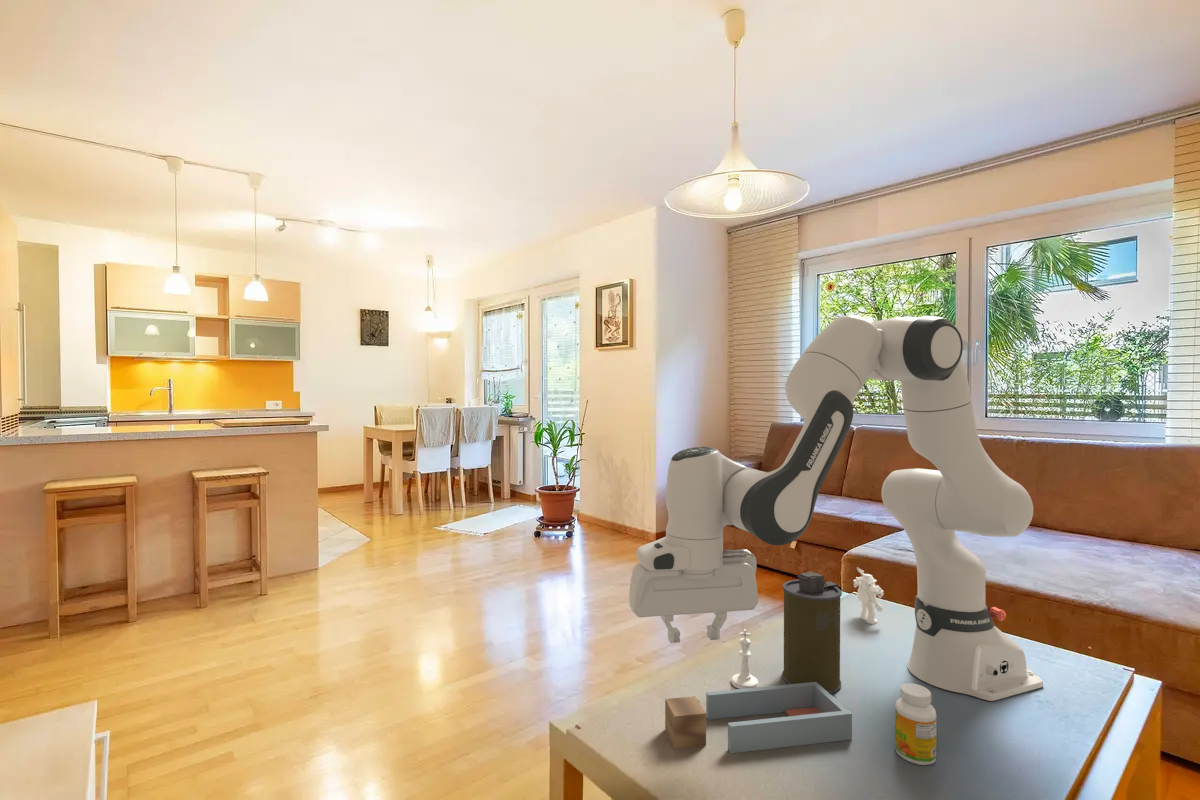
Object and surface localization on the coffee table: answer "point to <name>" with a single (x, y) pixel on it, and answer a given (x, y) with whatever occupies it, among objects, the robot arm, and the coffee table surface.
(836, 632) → the canister
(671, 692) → the coffee table surface
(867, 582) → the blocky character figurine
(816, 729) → the channel
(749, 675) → the chess piece
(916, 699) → the supplement bottle
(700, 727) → the walnut cube
